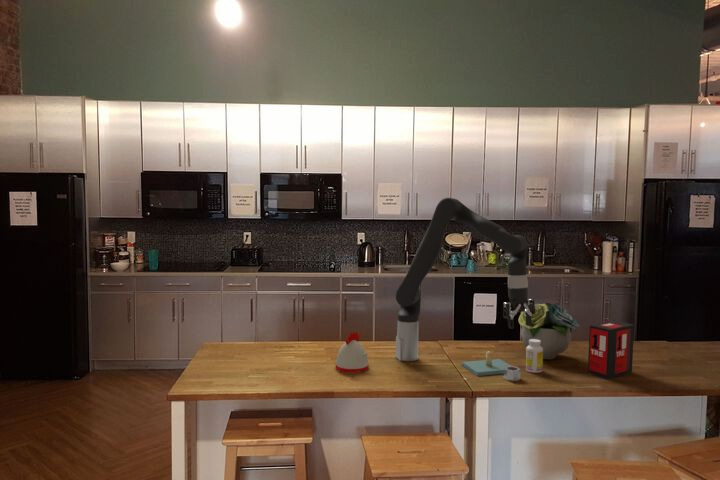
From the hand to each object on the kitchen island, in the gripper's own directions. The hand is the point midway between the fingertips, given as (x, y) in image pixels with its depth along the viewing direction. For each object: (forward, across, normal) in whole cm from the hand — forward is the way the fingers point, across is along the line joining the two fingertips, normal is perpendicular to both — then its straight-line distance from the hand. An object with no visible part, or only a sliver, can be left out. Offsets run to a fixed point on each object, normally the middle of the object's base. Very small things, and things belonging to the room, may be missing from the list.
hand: (519, 327), depth 211 cm
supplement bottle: (+21, -12, -6) cm, 25 cm away
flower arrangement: (+21, -30, -19) cm, 41 cm away
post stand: (+20, +4, -16) cm, 25 cm away
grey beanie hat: (+16, +56, -40) cm, 71 cm away
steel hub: (+20, +3, -2) cm, 21 cm away
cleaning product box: (+23, -38, +8) cm, 46 cm away
